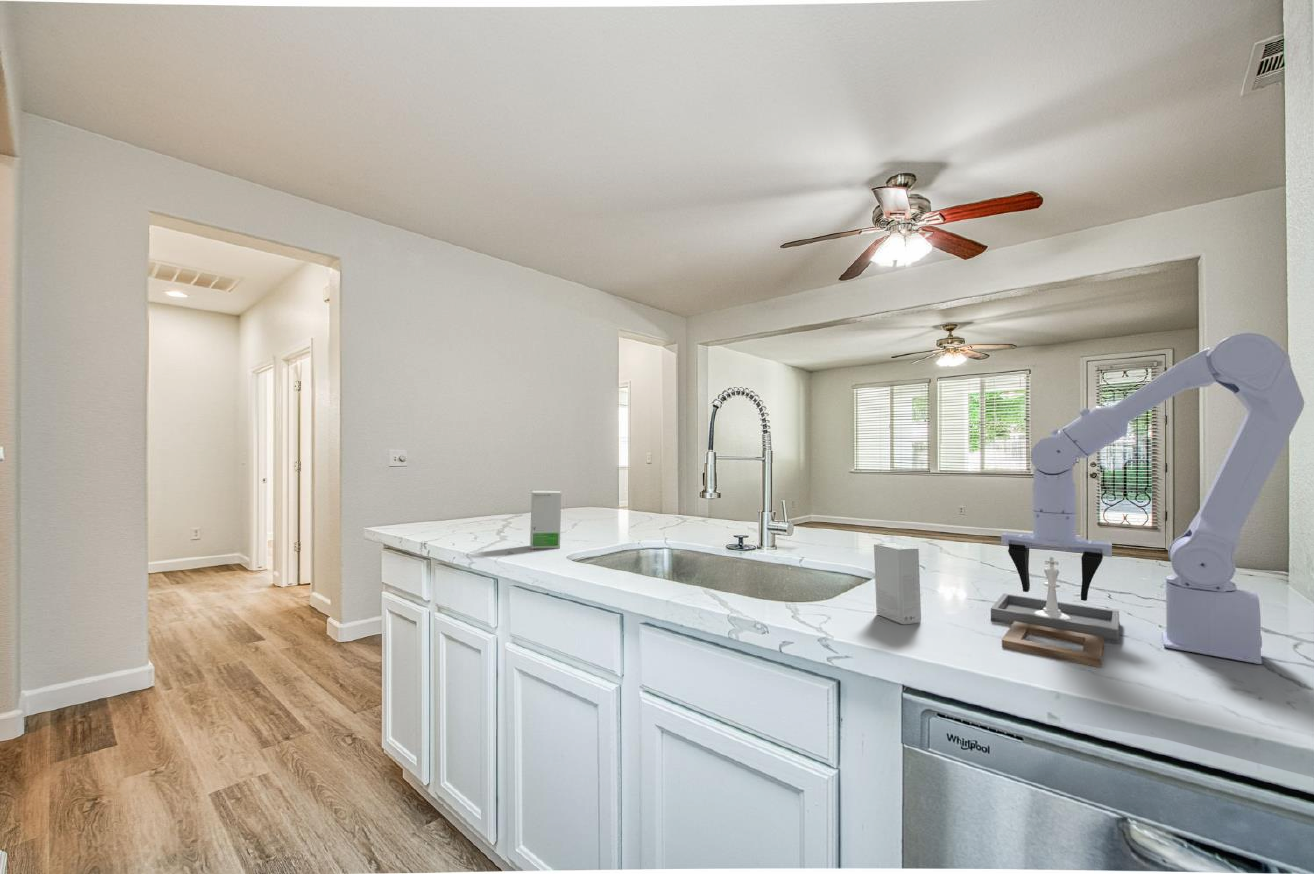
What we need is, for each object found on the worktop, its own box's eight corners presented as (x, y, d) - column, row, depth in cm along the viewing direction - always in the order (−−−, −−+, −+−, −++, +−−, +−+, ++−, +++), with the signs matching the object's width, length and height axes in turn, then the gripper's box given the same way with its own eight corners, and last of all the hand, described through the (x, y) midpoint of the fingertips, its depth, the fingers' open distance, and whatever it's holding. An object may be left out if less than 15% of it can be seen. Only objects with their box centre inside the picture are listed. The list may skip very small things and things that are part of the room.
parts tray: (1119, 623, 89) (1119, 611, 89) (1117, 643, 80) (1117, 630, 80) (1003, 604, 100) (1003, 593, 100) (990, 620, 90) (990, 608, 90)
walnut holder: (1104, 644, 80) (1103, 637, 80) (1100, 667, 72) (1100, 659, 72) (1014, 627, 87) (1014, 621, 87) (1001, 646, 79) (1001, 639, 79)
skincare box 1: (530, 549, 150) (530, 492, 150) (530, 545, 157) (530, 490, 157) (561, 548, 152) (561, 491, 152) (559, 544, 159) (560, 489, 159)
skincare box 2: (922, 622, 89) (922, 547, 90) (900, 625, 88) (900, 549, 88) (894, 611, 95) (893, 541, 95) (873, 614, 94) (873, 543, 94)
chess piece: (1074, 626, 86) (1074, 562, 86) (1037, 622, 88) (1036, 559, 88) (1066, 617, 90) (1066, 556, 90) (1030, 613, 92) (1030, 553, 92)
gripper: (997, 510, 92) (998, 591, 92) (1110, 517, 82) (1111, 609, 82) (1005, 506, 97) (1005, 583, 97) (1111, 513, 88) (1112, 599, 87)
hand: (1054, 594), depth 90 cm, fingers open, 7 cm apart
